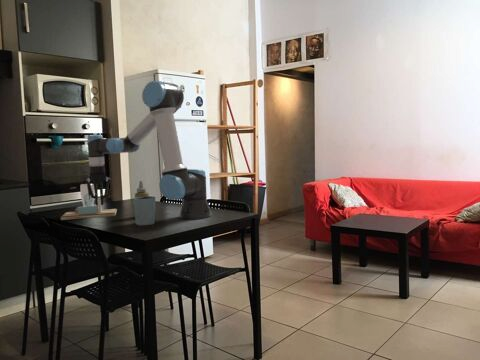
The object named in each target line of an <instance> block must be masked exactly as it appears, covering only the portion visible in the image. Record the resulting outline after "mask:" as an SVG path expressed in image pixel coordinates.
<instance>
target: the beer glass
mask: <svg viewBox="0 0 480 360" xmlns="http://www.w3.org/2000/svg"><path fill="white" fill-rule="evenodd" d="M90 185H91V188H92V191H93V194H94V196H95V190H94V183H90ZM79 186H80V198H81V202H82V207H85V206H95V204H94V203H95V199H94V198H91V195H90V192H89V189H88V186H87V184H86V183H81V184H80V185H79Z"/></svg>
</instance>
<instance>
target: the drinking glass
mask: <svg viewBox="0 0 480 360" xmlns="http://www.w3.org/2000/svg"><path fill="white" fill-rule="evenodd" d="M132 204H133V211H134V218H135V225H137V226H150V225H154V224H155V223H156V196H153V195H152V196H145V197H135V196H134V197H133V198H132Z"/></svg>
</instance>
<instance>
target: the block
mask: <svg viewBox="0 0 480 360" xmlns="http://www.w3.org/2000/svg"><path fill="white" fill-rule="evenodd" d="M97 206H98V205H94V206H85V207H83V206H77V207H78V215H84V214H97Z"/></svg>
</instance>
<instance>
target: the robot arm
mask: <svg viewBox="0 0 480 360" xmlns="http://www.w3.org/2000/svg"><path fill="white" fill-rule="evenodd" d="M141 98H142V102H143V103H144V105H145V106H146V107H148V108H149V112H148V114H147V115H146V116H145V117H144V118H143V119H142V120H141V121H140V122H139V123H138V124H137V125H136V126H135V127H134V128H133V129H132V130H131V131H130V132H129V133H128V134H127V135H126V136H125V137H111V138H110V137H109V138H103V135H102V134H89V135H88V136H87V138H86V139H87V140H86V141H87V143H86V145H87V153H88V154H87V155H88V164H89V165H88V167H89V176H88V178H86V179H85V180H84V184H87V186H88V189H89V192H90V195H91V198H94V203H95V206H98V212H102V210H103V207H102V206H103V205H104V198H107V196H108V191H109V185H110V182H111V180H112V179H111V178H110V177H108V176H107V174H106V166H105V162H106V161H105V155H106V154H111V155H112V154H122V153H123V154H124V153H135V152H138V151H139V149H140V147H141V144H142V142H144V140H146V139H147V137H148V136H150V134H152V133H153V131H155V130H156V132H157V138H158V143H159V147H160V152H161V157H162V162H163V167H164V168H163V170H162V171H161V176H162V177H161V178H160V181H159V183H158V185H159V191H160V193H161V195H162V196H163V197H165V198H166V199H167V200H171V201H175V200H176V201H177V200H181V199H182V203H181V207H180V211H179V219H185V220H196V219H197V220H199V219H206V218H210V217H211V216H212V212H211V208H210V206H209V203H208V200H207V175H206V171H205V170H203V169H195V168H193V169H190V168H187V166H185V165H184V164H183V157H182V153H181V152H182V151H181V149H180V142H179V137H178V133H177V132H178V131H177V127H176V122H175V116H174V114H175V113H176V112H177V111H179V109H180V108H181V107H182V105H183V102H184V100H185V99H184V98H185V94H184V91H183V90H182V88H181V87H180V86H178V85H177V84H175V83H169V82H165V81H161V80H153V81H152V80H151V81H149V82H148V83H146V85H145V86H144V88H143V90H142V93H141ZM91 182H92V184H94V191H95V196H94V194H93V191H92V188H91V185H90V184H91ZM104 182H106V184H105V188H103V187H104V186H103V183H104ZM98 184H99V192H98ZM103 189H104V190H103ZM99 195H100V197H99Z"/></svg>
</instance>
